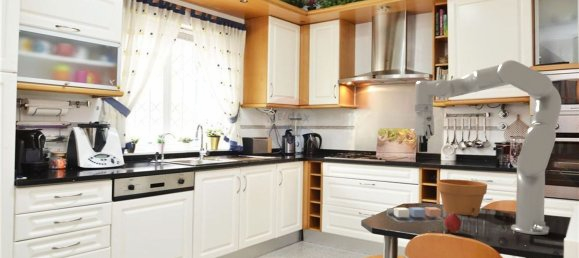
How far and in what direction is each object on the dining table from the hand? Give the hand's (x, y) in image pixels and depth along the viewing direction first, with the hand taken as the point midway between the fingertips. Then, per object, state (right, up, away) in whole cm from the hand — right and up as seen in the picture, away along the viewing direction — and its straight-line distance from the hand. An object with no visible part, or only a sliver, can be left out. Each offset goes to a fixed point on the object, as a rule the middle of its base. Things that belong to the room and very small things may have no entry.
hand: (423, 151), depth 185 cm
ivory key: (-11, -27, -5) cm, 29 cm away
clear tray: (-4, -29, -4) cm, 30 cm away
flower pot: (+21, -30, +12) cm, 38 cm away
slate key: (-4, -27, -4) cm, 27 cm away
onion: (+4, -30, -23) cm, 38 cm away
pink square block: (+3, -27, -3) cm, 27 cm away
